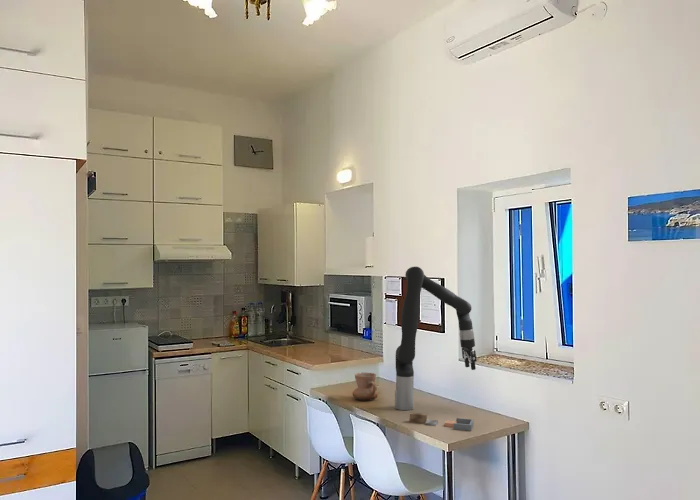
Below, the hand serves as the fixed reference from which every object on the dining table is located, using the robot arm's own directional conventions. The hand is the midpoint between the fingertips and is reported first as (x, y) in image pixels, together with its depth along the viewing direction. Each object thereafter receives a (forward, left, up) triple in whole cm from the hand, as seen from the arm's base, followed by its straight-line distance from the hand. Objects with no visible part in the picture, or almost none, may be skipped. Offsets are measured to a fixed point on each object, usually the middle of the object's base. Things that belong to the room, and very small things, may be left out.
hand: (470, 368), depth 292 cm
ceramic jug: (-58, -1, -22) cm, 62 cm away
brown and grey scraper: (-18, -37, -22) cm, 46 cm away
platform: (-60, +20, -22) cm, 67 cm away
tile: (-5, -37, -22) cm, 43 cm away
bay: (0, -37, -21) cm, 42 cm away
